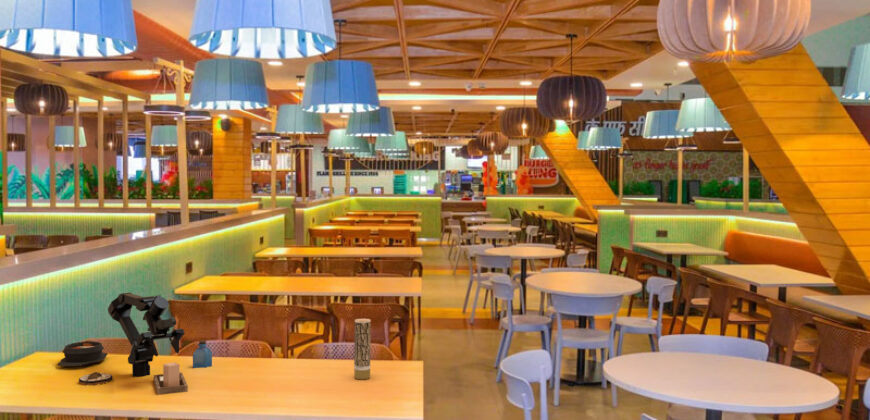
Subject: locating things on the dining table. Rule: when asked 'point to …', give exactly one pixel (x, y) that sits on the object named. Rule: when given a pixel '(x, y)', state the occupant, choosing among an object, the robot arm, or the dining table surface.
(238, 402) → the dining table surface
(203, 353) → the perfume bottle
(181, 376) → the rack
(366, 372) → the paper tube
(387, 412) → the dining table surface
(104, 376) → the sushi roll
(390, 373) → the dining table surface
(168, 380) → the clay blank
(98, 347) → the casserole
